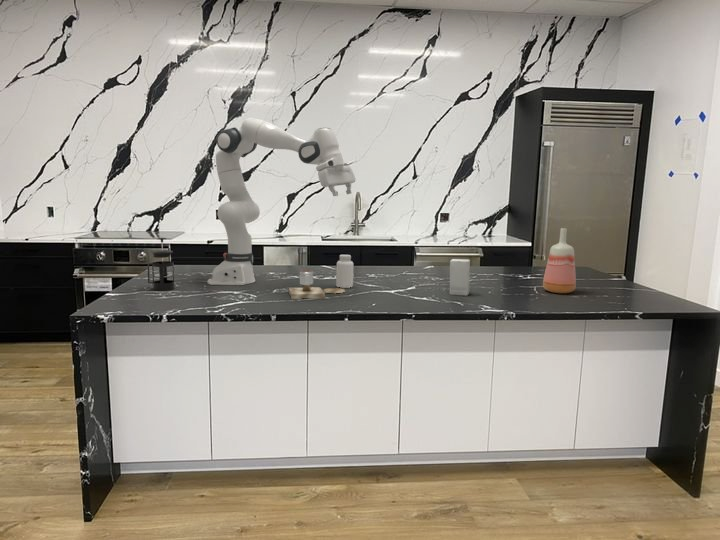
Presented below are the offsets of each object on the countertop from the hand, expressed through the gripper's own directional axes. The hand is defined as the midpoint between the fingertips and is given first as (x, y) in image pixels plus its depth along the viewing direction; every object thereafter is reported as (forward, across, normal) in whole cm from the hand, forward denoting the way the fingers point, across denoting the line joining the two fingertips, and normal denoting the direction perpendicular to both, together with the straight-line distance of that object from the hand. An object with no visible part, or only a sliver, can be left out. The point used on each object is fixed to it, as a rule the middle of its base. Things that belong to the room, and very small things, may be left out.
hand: (342, 194), depth 238 cm
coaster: (+40, +4, -18) cm, 43 cm away
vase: (+70, -65, +55) cm, 110 cm away
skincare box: (+57, -29, +24) cm, 68 cm away
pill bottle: (+40, -9, -22) cm, 46 cm away
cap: (+32, +17, -20) cm, 42 cm away
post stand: (+37, +18, -21) cm, 46 cm away
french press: (+17, +50, -74) cm, 91 cm away
